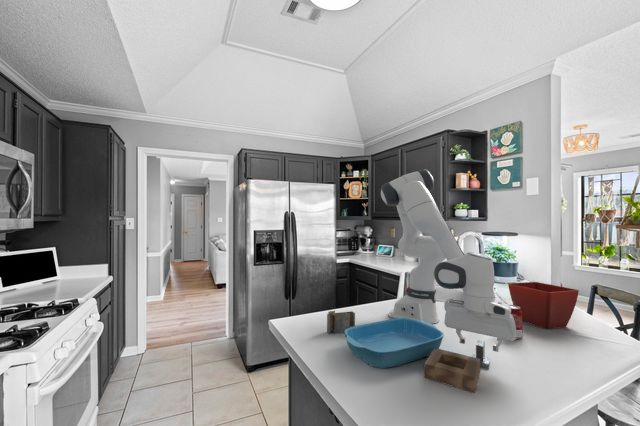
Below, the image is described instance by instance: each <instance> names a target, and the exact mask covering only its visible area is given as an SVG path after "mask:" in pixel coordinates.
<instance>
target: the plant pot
mask: <svg viewBox="0 0 640 426" xmlns="http://www.w3.org/2000/svg"><path fill="white" fill-rule="evenodd" d="M508 290H509V294H510V299H511V302H512V305H515V306H519V307H520V310H521V311H522V322H525V323H527V324H530V325H533V326H536V327H539V328H542V329H545V330H553V329H559V328H566V327H567V326H568V324H569V323H570V320H571V318H572V316H573V313H574V310H575V307H576V306H577V301H578V296H579V291H580V290H578V289H576V288H575V289H574V288H570V287H565V286H559V285H555V284H550V283H545V282H537V281H528V282H527V281H526V282H525V281H524V282H512V283H511V282H510V283H508Z"/></svg>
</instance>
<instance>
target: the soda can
mask: <svg viewBox="0 0 640 426" xmlns="http://www.w3.org/2000/svg"><path fill="white" fill-rule="evenodd" d="M508 305H509V306H510V307H511V315H512V316H513V317H514V320H515V325H516V339H515V340H520V339H522V338H523V321H522V311H521V310H520V307H519V306H515V305H513V304H508Z"/></svg>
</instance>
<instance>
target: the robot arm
mask: <svg viewBox="0 0 640 426" xmlns="http://www.w3.org/2000/svg"><path fill="white" fill-rule="evenodd" d="M434 188H435V179H434V177H433V175H432V174H431V172H430V171H429V170H427V169H419V170H416V171H413V172H410V173H406V174H404V175H401V176H400V177H398V178H395V179H393V180H391V181H389V182H385V183H384V184H383V185H381V188H380V196H381V199H382V201H383V202H384V203H385V205H386V206H388V207H396V211H397V213H398V216H399V219H400V222H401V226H402V236H401V237H400V239H399V241H398V242H397V243H398V245H397V247H398V251H399V253H400V254H401V255H403V256H404V257H405V256H406V257H408V258H413V259H419V262H418V265H417V266H415V267H414V268H412V269H411V271H410V274H409V275H410V277H409V279H410V281H409V282H410V285H408V286H407V287H406V288H405V293H406V294H405V295H404V296H402V297H401V298H399V299H398V300H396V301H395V303H394V305H393V309H392V310H391V309H390V311H389V312H388V317H389V318H391V319H395V318H409V319H414V320H418V321H423V322H427V323H430V324H432V325H434V324H437V323H439V322H440V319H439V316H438V311H437V310H438V309H437V289H436V283H437V285H439V286H440V287H441V288H443V289H448V290H454V289H455V290H458V289H460V290H462V291H463V293H462V294H463V296H462V297H463V300H459V299H452V298H450V299H448V300H445V301H444V303H443V304H444V305H443V307H444V309H443V310H444V311H445V315H444V325H445V326H446V328H450V329H453V330H454V329H455V333H456V335H457V337H458V338H459V344H463V345H465V344H466V337H464V336H463V335H462V331H465V332H469V333H474V334H477V335H483V336H487V337H488V336H489V337H492V338H496V341H497V342H496V343H493V344H492V351H493V352H497V353H499V347H500V346H501V344H503V340H508V341H511V342H512V341H514V340H517V339H516V325H515V320H514V317H513V316H512V315H511V307H510V306H509V305H510V304H508V303H505V302H503V301H501V300H498V299H496V297H495V293H494V285H495V267H494V263H493V259H492V258H491V257H490V256H489V255H487V254H484V253H479V252H474V251H473V252H471V251H469V252H466V253H464V252H463V250H462V249H461V246H460V244H459V243H458V241H457V240H456V238H455V236H454V234H453V233H452V231H451V229H450V228H449V226H448V225H447V223H446V221H445V219H444V217H443V216H442V214H441V212H440V210H439V207H438V205H437V204H436V201H435V200H434V197H433V196H432V194H431V193H432V191H433V190H434ZM423 234H424V235H423ZM425 234H426V235H425ZM444 260H445V261H444Z"/></svg>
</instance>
